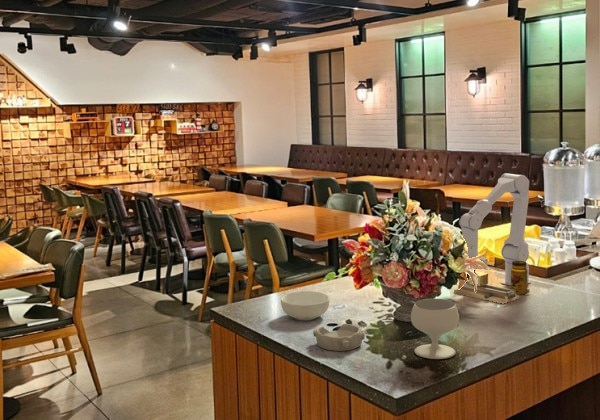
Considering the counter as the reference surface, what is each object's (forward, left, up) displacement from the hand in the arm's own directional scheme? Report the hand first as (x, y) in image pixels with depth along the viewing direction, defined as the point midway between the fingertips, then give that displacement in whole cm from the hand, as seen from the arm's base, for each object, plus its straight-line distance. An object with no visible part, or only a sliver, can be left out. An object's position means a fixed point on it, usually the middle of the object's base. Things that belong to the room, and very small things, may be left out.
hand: (469, 279), depth 272 cm
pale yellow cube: (0, +4, -2) cm, 5 cm away
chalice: (+61, +32, -5) cm, 69 cm away
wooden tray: (0, +7, -5) cm, 9 cm away
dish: (+76, +7, -5) cm, 77 cm away
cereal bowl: (+65, -22, -5) cm, 69 cm away
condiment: (-13, +13, -5) cm, 19 cm away
